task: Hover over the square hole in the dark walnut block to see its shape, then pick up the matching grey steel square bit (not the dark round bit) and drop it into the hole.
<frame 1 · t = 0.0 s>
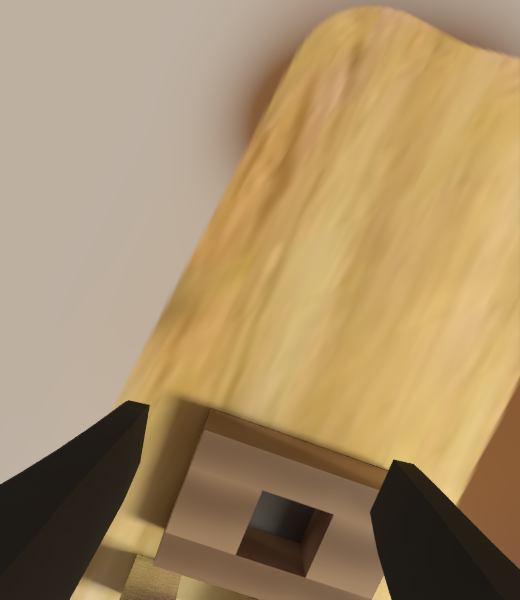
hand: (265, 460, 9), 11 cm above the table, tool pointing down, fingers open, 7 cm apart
bore block: (280, 502, 21), on the table
square bit: (152, 581, 22), on the table
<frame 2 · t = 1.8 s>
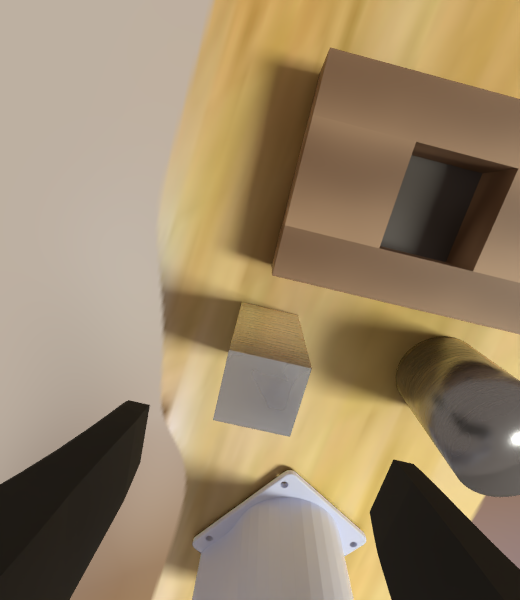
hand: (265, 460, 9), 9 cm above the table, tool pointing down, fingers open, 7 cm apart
bore block: (419, 208, 16), on the table
square bit: (263, 334, 18), on the table
round bit: (437, 374, 19), on the table
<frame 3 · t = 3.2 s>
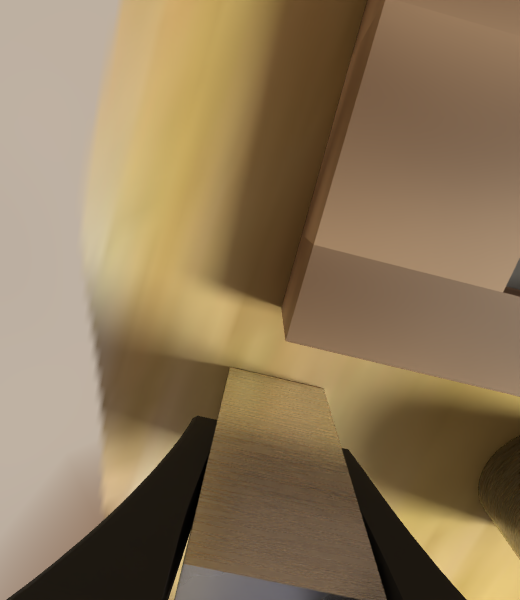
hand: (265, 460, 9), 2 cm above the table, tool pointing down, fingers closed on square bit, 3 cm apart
square bit: (265, 417, 11), on the table, touching gripper
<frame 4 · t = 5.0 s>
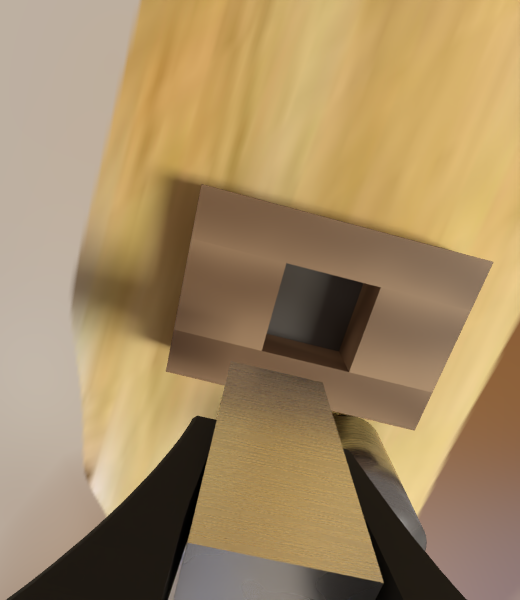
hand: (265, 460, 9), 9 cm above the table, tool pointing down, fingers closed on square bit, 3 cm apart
bore block: (312, 304, 17), on the table
square bit: (265, 411, 11), point 7 cm above the table, touching gripper
round bit: (341, 448, 20), on the table
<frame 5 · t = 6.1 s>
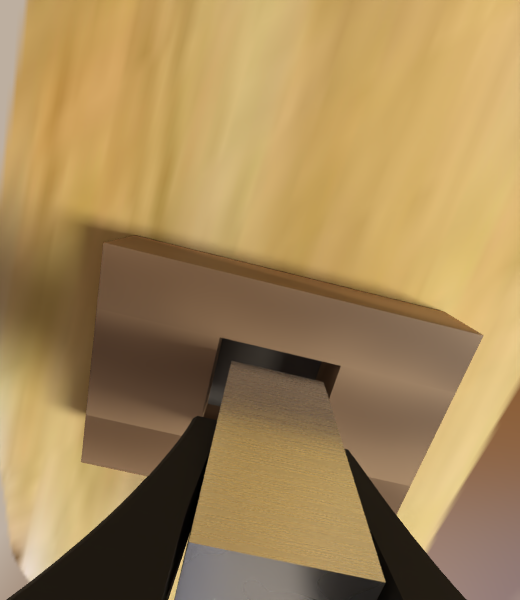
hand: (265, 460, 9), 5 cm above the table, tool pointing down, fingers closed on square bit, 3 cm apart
bore block: (266, 370, 14), on the table
square bit: (266, 410, 11), point 3 cm above the table, touching gripper
when the fingers open (3 cm above the table, at t = 6.9 s): square bit drops 1 cm, resting on bore block.
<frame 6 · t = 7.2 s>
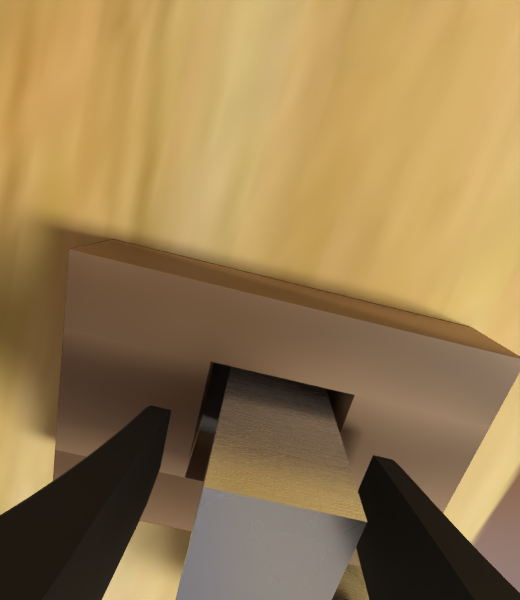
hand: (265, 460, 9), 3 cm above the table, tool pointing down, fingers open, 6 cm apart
bore block: (265, 393, 12), on the table
square bit: (267, 394, 12), resting on bore block
round bit: (314, 565, 15), on the table
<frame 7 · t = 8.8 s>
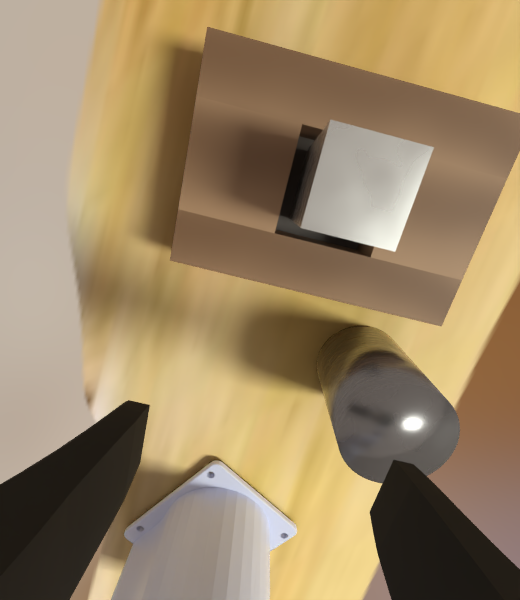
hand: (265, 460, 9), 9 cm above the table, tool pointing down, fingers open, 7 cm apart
bore block: (327, 195, 16), on the table
square bit: (329, 193, 16), resting on bore block
round bit: (358, 364, 19), on the table
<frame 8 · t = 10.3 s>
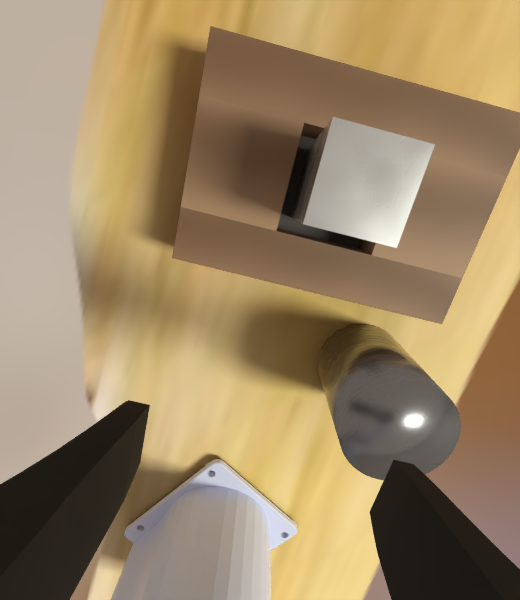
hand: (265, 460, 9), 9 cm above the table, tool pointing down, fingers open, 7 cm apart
bore block: (329, 194, 16), on the table
square bit: (330, 192, 16), resting on bore block
round bit: (358, 362, 19), on the table
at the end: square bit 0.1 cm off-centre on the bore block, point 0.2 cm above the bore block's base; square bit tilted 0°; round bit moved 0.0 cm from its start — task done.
